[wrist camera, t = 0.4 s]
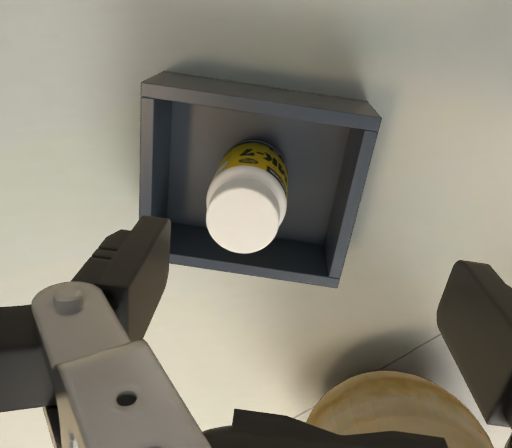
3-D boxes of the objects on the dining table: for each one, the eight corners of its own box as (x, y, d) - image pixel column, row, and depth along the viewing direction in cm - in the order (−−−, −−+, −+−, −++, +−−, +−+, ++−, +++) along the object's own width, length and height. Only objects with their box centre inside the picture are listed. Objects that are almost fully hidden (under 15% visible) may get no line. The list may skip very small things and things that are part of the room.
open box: (163, 70, 29) (140, 81, 24) (367, 101, 29) (382, 117, 24) (158, 226, 34) (138, 259, 30) (331, 252, 34) (337, 288, 30)
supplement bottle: (300, 162, 30) (304, 211, 23) (264, 213, 32) (257, 275, 25) (241, 124, 30) (225, 164, 22) (208, 179, 32) (182, 233, 24)
